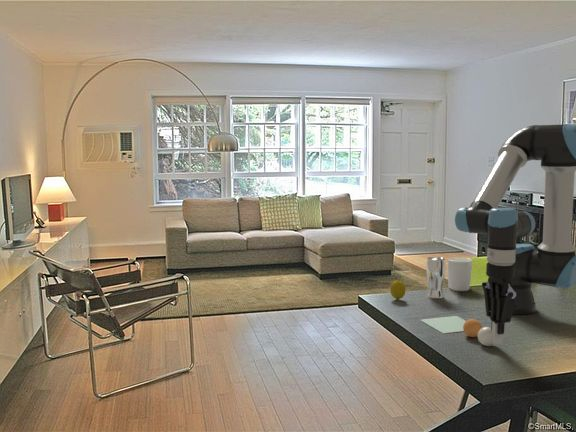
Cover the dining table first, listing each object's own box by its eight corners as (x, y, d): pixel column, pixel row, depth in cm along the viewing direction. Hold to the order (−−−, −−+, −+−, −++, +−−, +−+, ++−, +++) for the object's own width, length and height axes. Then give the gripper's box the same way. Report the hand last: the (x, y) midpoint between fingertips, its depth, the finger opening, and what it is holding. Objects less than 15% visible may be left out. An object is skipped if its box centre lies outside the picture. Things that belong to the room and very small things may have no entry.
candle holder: (442, 285, 232) (443, 257, 230) (465, 285, 233) (466, 256, 231) (451, 291, 222) (452, 262, 221) (475, 291, 223) (476, 261, 221)
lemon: (405, 302, 207) (405, 281, 206) (390, 301, 208) (390, 280, 207) (405, 298, 213) (405, 278, 212) (390, 297, 214) (390, 277, 213)
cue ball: (502, 346, 161) (489, 340, 167) (501, 328, 161) (488, 323, 166) (486, 350, 160) (473, 344, 165) (485, 331, 159) (473, 326, 164)
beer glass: (434, 300, 211) (435, 261, 209) (421, 295, 217) (423, 257, 215) (448, 297, 214) (449, 259, 212) (435, 293, 220) (436, 256, 218)
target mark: (456, 316, 191) (456, 315, 191) (481, 329, 177) (481, 328, 177) (419, 320, 187) (419, 319, 187) (443, 333, 173) (443, 333, 173)
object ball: (474, 332, 174) (475, 315, 173) (485, 338, 169) (486, 321, 168) (459, 334, 172) (459, 317, 172) (469, 340, 167) (470, 322, 166)
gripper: (475, 259, 162) (471, 337, 165) (505, 268, 149) (501, 353, 152) (496, 257, 164) (493, 334, 167) (528, 266, 152) (523, 350, 155)
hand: (497, 343), depth 160 cm, fingers closed
